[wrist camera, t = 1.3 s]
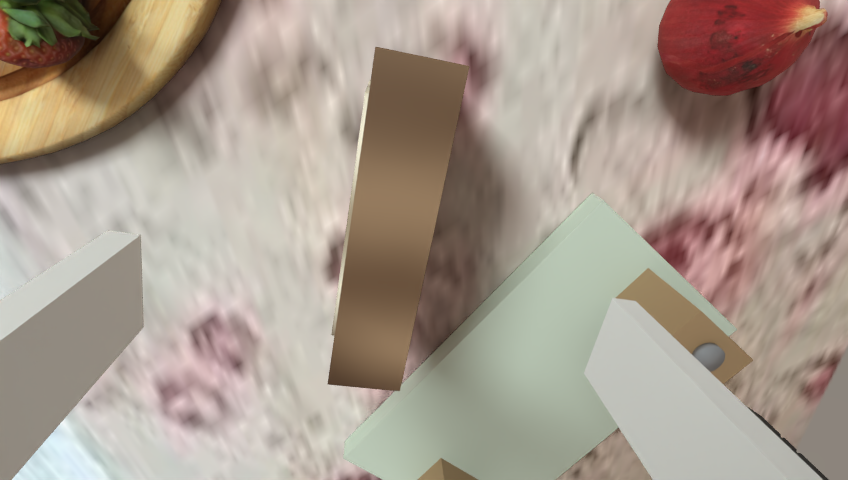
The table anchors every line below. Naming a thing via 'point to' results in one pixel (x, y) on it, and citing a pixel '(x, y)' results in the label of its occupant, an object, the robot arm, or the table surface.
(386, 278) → the wooden frame
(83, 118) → the wooden plate with food
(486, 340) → the wall board
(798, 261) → the table surface
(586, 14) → the table surface
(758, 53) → the onion
